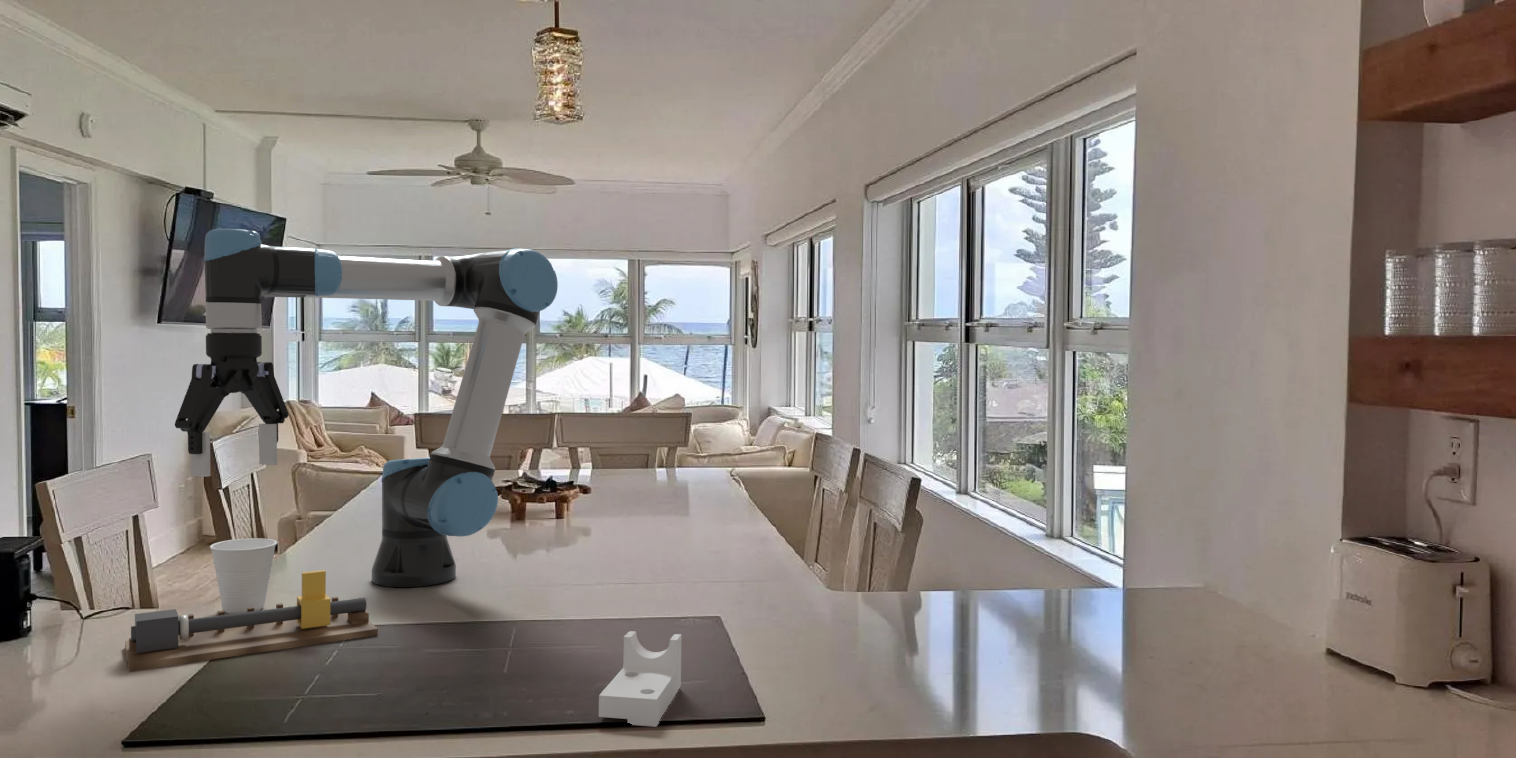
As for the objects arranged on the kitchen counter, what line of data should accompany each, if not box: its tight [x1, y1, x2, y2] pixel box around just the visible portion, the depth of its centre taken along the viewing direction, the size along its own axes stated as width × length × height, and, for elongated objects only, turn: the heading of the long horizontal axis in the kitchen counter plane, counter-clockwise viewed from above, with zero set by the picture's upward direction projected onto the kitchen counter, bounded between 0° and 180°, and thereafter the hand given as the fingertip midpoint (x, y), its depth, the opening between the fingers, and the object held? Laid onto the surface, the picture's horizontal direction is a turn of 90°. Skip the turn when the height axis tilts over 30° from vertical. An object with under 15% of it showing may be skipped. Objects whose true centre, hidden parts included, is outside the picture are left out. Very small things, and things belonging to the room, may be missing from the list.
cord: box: [130, 597, 367, 641], centre depth 144 cm, size 31×2×2 cm, turn 125°
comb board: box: [124, 596, 379, 672], centre depth 144 cm, size 32×12×4 cm, turn 125°
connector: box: [134, 608, 189, 653], centre depth 138 cm, size 6×4×4 cm
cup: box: [209, 537, 278, 615], centre depth 161 cm, size 10×10×11 cm
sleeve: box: [296, 569, 331, 629], centre depth 149 cm, size 4×4×8 cm
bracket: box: [598, 630, 682, 728], centre depth 122 cm, size 13×7×8 cm, turn 172°
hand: (236, 470), depth 149 cm, fingers open, 13 cm apart
